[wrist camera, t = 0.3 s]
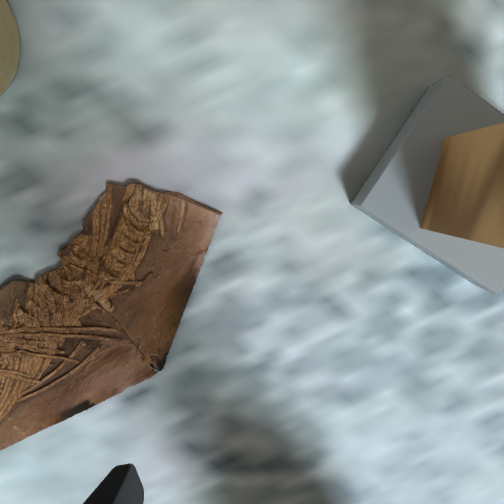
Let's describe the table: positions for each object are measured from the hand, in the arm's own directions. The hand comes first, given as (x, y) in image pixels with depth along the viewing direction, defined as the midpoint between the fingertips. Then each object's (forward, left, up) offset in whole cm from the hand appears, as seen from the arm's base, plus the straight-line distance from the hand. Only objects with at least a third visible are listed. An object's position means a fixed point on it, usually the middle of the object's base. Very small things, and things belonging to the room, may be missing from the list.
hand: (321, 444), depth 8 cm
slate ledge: (+3, -12, -14) cm, 19 cm away
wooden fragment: (0, +14, -15) cm, 20 cm away
